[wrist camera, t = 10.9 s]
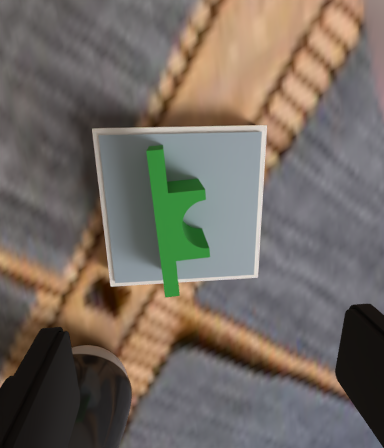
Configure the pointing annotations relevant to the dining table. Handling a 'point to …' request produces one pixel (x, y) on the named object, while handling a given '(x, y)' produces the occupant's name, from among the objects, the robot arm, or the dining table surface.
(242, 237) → the stand
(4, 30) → the dining table surface
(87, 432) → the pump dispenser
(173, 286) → the pipe clamp
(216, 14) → the dining table surface
